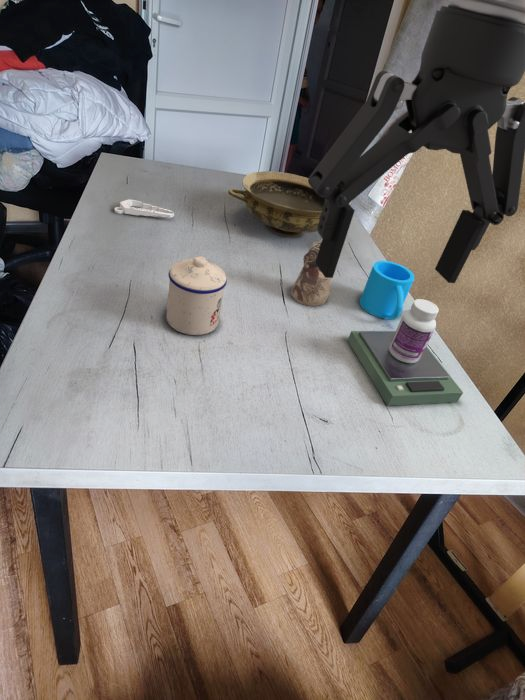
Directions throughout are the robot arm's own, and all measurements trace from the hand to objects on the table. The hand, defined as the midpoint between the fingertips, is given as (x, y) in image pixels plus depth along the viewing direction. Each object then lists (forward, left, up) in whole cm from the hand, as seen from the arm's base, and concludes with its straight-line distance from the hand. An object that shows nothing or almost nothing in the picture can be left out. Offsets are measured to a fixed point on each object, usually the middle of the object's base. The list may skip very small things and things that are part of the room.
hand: (386, 273), depth 47 cm
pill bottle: (+16, -21, -24) cm, 36 cm away
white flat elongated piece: (+70, +17, -27) cm, 77 cm away
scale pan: (+16, -21, -24) cm, 36 cm away
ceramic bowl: (+67, -16, -27) cm, 74 cm away
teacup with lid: (+30, +12, -27) cm, 42 cm away
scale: (+15, -21, -27) cm, 37 cm away
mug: (+32, -26, -27) cm, 49 cm away
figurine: (+37, -12, -27) cm, 47 cm away
